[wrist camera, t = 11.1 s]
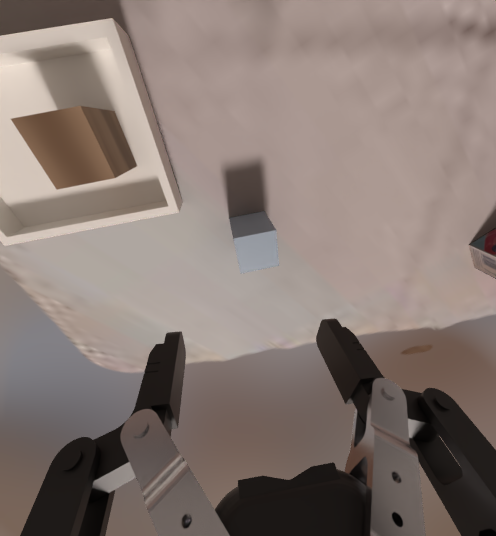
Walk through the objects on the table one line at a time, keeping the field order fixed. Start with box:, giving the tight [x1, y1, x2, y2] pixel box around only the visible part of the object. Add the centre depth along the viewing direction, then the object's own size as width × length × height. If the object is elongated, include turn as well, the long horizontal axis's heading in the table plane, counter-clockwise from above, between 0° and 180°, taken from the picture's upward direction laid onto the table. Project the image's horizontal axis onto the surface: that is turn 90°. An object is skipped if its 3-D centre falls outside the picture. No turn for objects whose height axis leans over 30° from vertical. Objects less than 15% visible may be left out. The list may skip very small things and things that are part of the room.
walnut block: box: [11, 106, 137, 190], centre depth 18 cm, size 4×4×6 cm
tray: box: [0, 18, 183, 246], centre depth 19 cm, size 14×18×4 cm
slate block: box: [229, 211, 279, 273], centre depth 26 cm, size 4×4×6 cm
